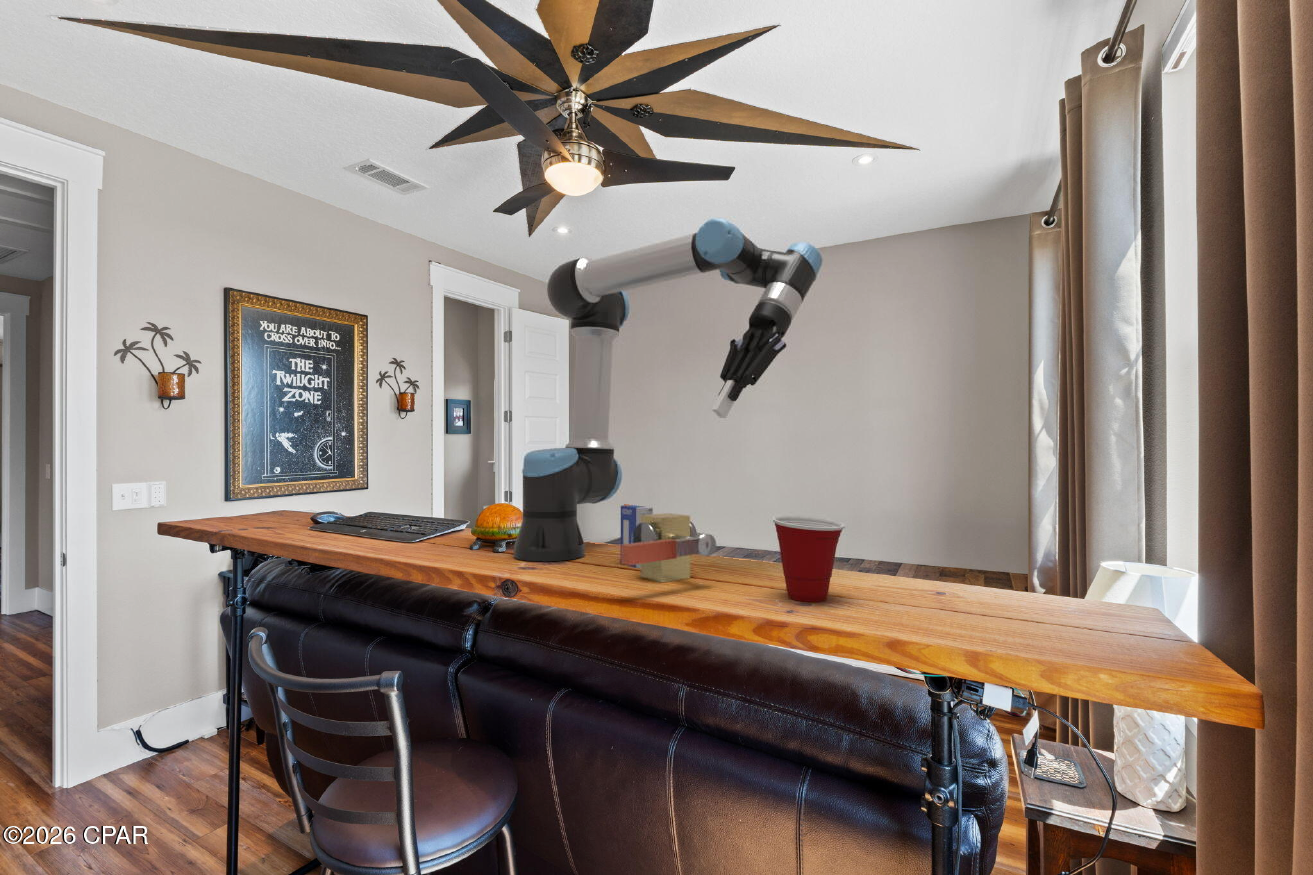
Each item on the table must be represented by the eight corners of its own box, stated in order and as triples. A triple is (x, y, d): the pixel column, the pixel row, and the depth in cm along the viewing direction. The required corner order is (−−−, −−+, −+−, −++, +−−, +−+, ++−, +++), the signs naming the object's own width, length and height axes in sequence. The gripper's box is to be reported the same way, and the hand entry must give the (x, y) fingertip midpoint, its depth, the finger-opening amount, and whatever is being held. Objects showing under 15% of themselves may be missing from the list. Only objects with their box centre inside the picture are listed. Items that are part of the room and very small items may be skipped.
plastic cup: (825, 611, 80) (824, 524, 81) (758, 598, 87) (758, 518, 88) (858, 597, 88) (857, 518, 89) (794, 586, 95) (794, 513, 96)
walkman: (620, 563, 117) (620, 503, 117) (631, 561, 119) (631, 503, 119) (641, 569, 111) (641, 506, 111) (653, 567, 112) (653, 505, 113)
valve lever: (706, 553, 97) (620, 565, 87) (706, 531, 97) (620, 541, 87) (716, 555, 95) (629, 568, 85) (715, 533, 95) (629, 543, 85)
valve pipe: (633, 578, 102) (633, 515, 103) (676, 571, 108) (676, 512, 109) (673, 589, 93) (673, 521, 94) (717, 581, 99) (717, 517, 100)
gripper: (811, 323, 108) (756, 427, 101) (760, 328, 118) (707, 423, 112) (790, 295, 104) (731, 402, 98) (739, 303, 114) (683, 400, 108)
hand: (718, 413), depth 105 cm, fingers closed
